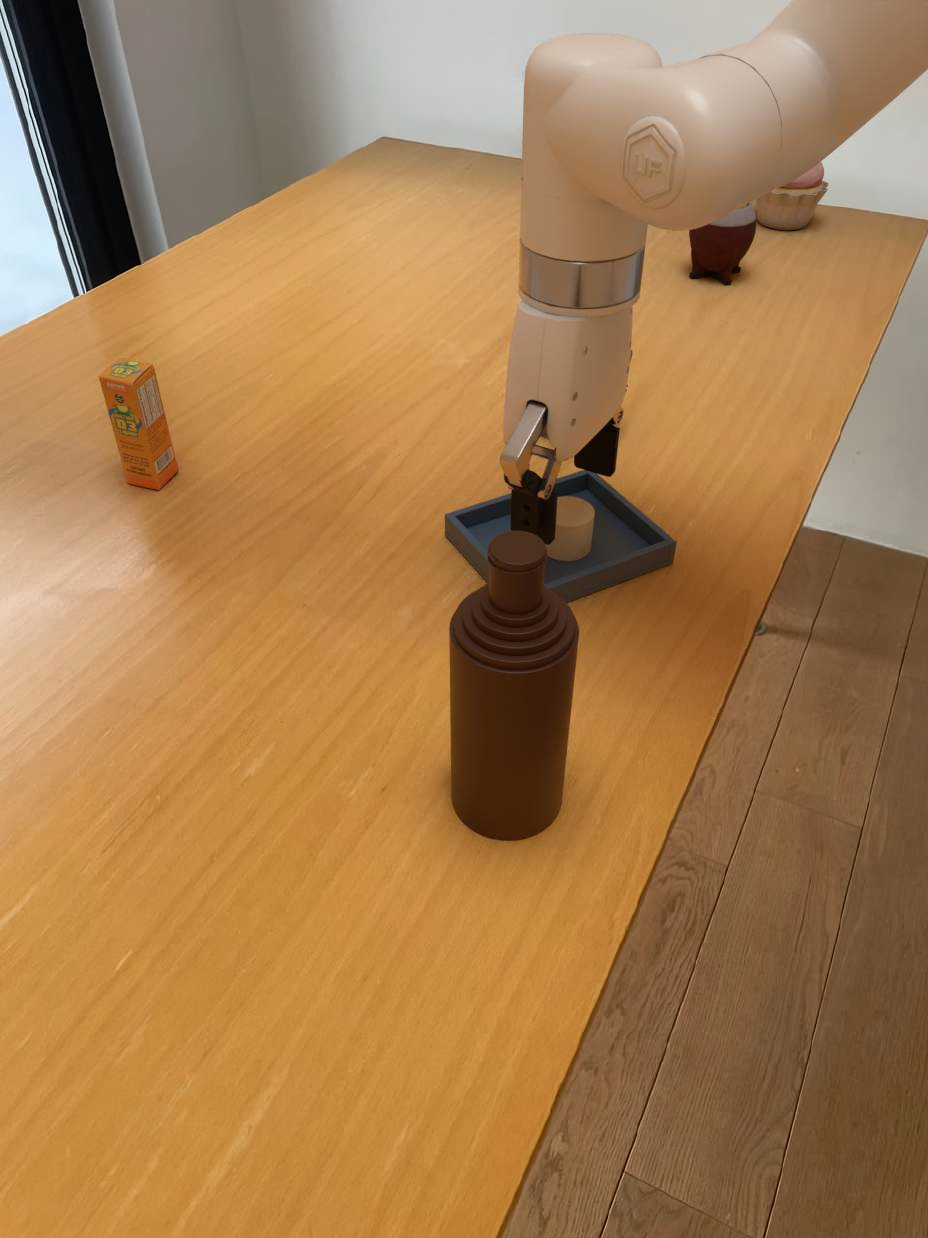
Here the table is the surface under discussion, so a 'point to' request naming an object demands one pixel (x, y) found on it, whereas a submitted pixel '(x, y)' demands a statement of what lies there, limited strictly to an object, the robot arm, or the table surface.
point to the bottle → (511, 694)
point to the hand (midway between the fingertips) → (564, 502)
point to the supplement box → (139, 423)
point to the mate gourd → (722, 244)
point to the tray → (616, 548)
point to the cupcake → (792, 201)
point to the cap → (572, 529)
